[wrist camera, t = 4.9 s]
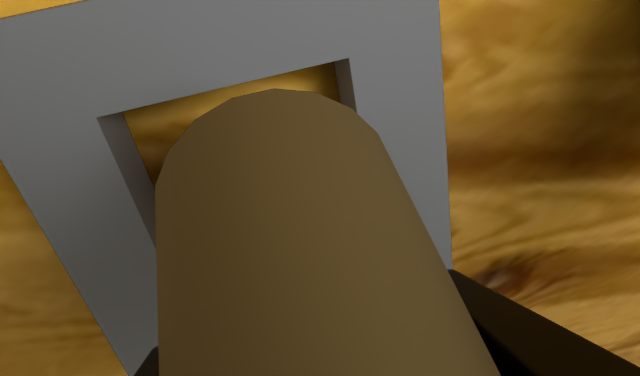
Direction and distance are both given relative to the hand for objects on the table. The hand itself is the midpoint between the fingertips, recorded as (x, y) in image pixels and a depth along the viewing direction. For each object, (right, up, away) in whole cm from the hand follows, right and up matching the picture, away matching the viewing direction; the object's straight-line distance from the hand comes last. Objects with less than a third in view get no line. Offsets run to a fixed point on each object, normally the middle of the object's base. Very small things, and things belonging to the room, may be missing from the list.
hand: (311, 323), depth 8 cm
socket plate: (-3, +3, +13) cm, 13 cm away
